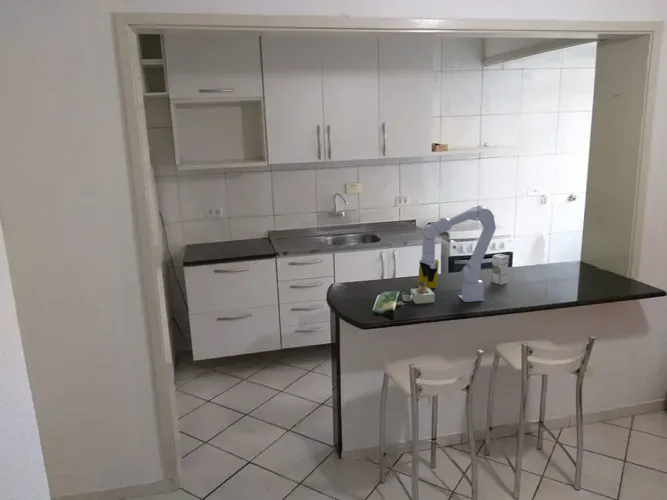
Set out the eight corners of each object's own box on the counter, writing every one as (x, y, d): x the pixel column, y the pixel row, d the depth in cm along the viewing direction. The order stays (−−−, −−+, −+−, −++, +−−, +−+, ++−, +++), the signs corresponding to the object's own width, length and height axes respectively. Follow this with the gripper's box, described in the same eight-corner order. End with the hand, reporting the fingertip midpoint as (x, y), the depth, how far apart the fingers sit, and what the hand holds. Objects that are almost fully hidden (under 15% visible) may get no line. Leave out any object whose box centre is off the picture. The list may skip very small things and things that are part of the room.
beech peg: (425, 297, 251) (425, 282, 248) (426, 300, 247) (427, 284, 245) (417, 298, 250) (417, 282, 248) (419, 301, 247) (419, 284, 245)
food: (414, 290, 265) (426, 286, 272) (434, 290, 257) (445, 286, 264) (410, 260, 264) (422, 257, 271) (429, 259, 256) (441, 256, 263)
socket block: (428, 295, 254) (428, 287, 252) (434, 302, 245) (434, 294, 244) (410, 296, 253) (410, 288, 251) (415, 303, 244) (415, 295, 243)
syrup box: (507, 283, 269) (509, 255, 265) (499, 285, 265) (501, 257, 261) (498, 280, 273) (500, 253, 269) (490, 282, 270) (492, 255, 266)
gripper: (415, 247, 250) (415, 274, 254) (424, 255, 236) (424, 284, 240) (430, 246, 251) (429, 273, 255) (440, 254, 237) (439, 283, 241)
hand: (428, 278), depth 247 cm, fingers open, 7 cm apart
